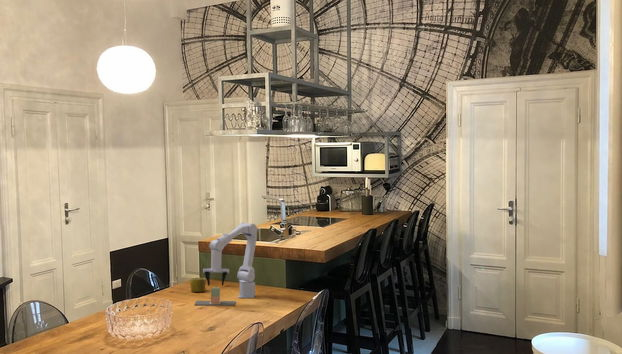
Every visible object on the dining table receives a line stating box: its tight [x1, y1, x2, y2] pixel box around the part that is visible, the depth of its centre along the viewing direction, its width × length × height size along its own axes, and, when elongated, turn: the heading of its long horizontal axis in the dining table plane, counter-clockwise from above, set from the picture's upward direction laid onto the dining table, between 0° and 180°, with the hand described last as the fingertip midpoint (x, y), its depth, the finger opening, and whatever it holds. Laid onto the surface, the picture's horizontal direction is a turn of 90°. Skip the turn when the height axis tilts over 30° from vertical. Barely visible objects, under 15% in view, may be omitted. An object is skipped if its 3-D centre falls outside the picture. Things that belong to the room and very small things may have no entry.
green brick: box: [210, 286, 221, 297], centre depth 288 cm, size 5×5×4 cm
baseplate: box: [194, 300, 236, 307], centre depth 288 cm, size 22×8×1 cm, turn 94°
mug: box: [190, 277, 207, 293], centre depth 317 cm, size 12×10×10 cm
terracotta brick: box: [210, 295, 221, 304], centre depth 288 cm, size 5×5×4 cm
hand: (215, 285), depth 288 cm, fingers open, 7 cm apart
